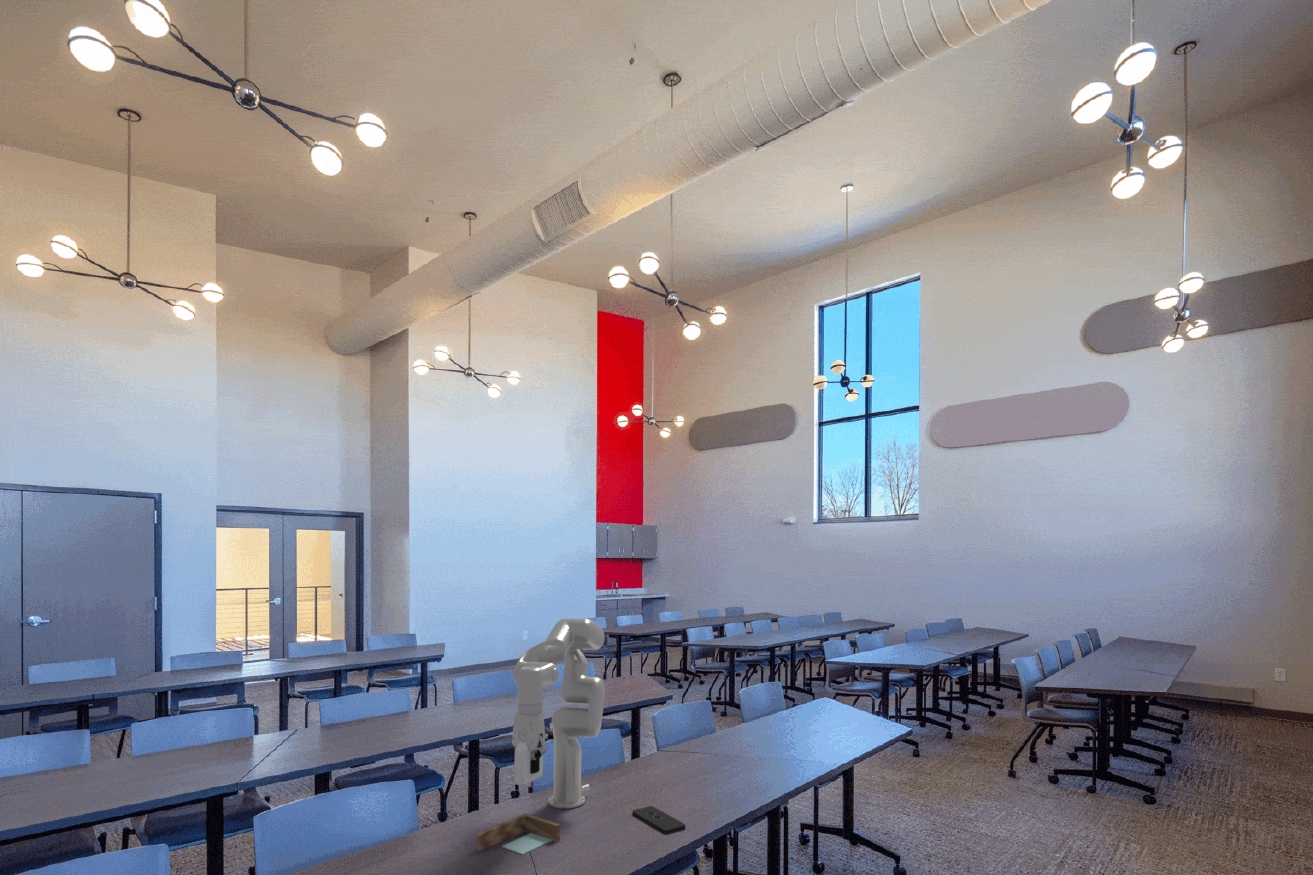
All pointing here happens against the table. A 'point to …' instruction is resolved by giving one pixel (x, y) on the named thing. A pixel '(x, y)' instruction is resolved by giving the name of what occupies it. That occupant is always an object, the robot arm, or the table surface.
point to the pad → (526, 843)
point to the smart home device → (659, 820)
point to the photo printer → (525, 765)
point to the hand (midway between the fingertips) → (528, 770)
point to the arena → (518, 830)
